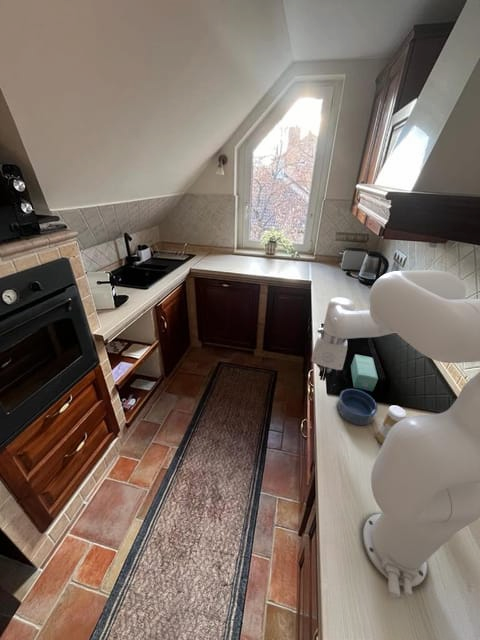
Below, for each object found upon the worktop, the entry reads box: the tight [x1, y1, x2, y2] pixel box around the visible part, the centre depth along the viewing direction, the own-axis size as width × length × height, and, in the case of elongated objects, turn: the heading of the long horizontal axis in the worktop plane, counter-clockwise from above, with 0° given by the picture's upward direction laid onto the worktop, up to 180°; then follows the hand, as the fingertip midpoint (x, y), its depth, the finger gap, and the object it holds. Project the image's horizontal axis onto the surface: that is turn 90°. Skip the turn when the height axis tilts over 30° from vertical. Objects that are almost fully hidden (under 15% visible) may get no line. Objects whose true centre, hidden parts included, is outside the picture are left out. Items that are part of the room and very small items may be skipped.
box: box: [350, 354, 379, 392], centre depth 104 cm, size 7×14×8 cm, turn 164°
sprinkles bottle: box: [376, 405, 407, 445], centre depth 78 cm, size 5×5×14 cm
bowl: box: [336, 388, 378, 426], centre depth 90 cm, size 12×12×5 cm
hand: (322, 377), depth 90 cm, fingers closed
